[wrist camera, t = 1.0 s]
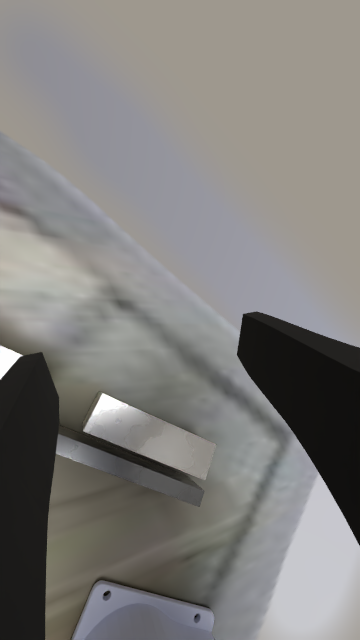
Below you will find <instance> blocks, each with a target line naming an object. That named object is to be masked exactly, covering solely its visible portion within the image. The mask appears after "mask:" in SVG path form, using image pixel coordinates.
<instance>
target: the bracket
mask: <svg viewBox="0 0 360 640" xmlns="http://www.w3.org/2000/svg"><path fill="white" fill-rule="evenodd" d="M20 356H23V355H21V354H18V353H16V352H14V351H12V350H9V349H7V348H5V347H3V346H1V345H0V379H1V378H2V377H3V376H4V374H5V373H6V372H7V371H8V370H9V369H10V367H11V366H12V365H13V364H14V363H15V362H16V360H17V359H18V358H19V357H20ZM56 454H58V455H61V456H64V457H66V458H69V459H72V460H74V461H77V462H80V463H82V464H85V465H88V466H91V467H93V468H96V469H99V470H101V471H104V472H107V473H109V474H112V475H115V476H117V477H120V478H123V479H125V480H128V481H131V482H134V483H136V484H139V485H142V486H144V487H147V488H150V489H152V490H155V491H158V492H160V493H163V494H166V495H168V496H171V497H174V498H176V499H179V500H182V501H185V502H187V503H190V504H193V505H195V506H198V507H200V504H201V500H202V497H203V494H204V490H203V489H202V488H200V487H199V486H198V485H197V484H196V483H195V482H194V481H192V480H191V479H190V478H189V477H188V476H185V475H183V474H180V473H178V472H175V471H173V470H170V469H168V468H166V467H163V466H161V465H158V464H156V463H153V462H151V461H148V460H146V459H143V458H141V457H138V456H136V455H133V454H131V453H128V452H126V451H123V450H121V449H118V448H116V447H113V446H111V445H108V444H106V443H103V442H101V441H98V440H96V439H93V438H91V437H88V436H86V435H83V434H81V433H78V432H76V431H73V430H71V429H68V428H66V427H63V426H61V425H59V431H58V439H57V447H56Z"/></svg>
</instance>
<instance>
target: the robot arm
mask: <svg viewBox="0 0 360 640" xmlns="http://www.w3.org/2000/svg"><path fill="white" fill-rule="evenodd" d="M237 356H238V358H239V359H240V361H241V363H242V365H243V366H244V368H245V370H246V371H247V373H248V375H249V376H250V377H251V379H252V380H253V381H254V383H255V384H256V385H257V386H258V388H259V389H260V390H261V392H262V393H263V394H264V395H265V397H266V398H267V399H268V400H269V402H270V403H271V404H272V405H273V407H274V408H275V409H276V410H277V412H278V413H279V414H280V415H281V417H282V418H283V419H284V420H285V422H286V423H287V424H288V426H289V427H290V428H291V430H292V431H293V433H294V434H295V436H296V437H297V439H298V440H299V442H300V443H301V445H302V446H303V448H304V449H305V451H306V452H307V454H308V456H309V457H310V459H311V460H312V462H313V464H314V465H315V467H316V469H317V470H318V472H319V474H320V475H321V477H322V478H323V480H324V482H325V483H326V485H327V487H328V489H329V490H330V492H331V494H332V496H333V497H334V499H335V501H336V503H337V504H338V506H339V508H340V510H341V512H342V513H343V515H344V517H345V519H346V521H347V522H348V524H349V526H350V528H351V530H352V532H353V534H354V536H355V538H356V540H357V542H358V543H359V545H360V348H359V347H355V346H352V345H349V344H346V343H343V342H340V341H337V340H334V339H331V338H328V337H325V336H323V335H320V334H317V333H314V332H312V331H309V330H307V329H304V328H301V327H299V326H296V325H293V324H291V323H288V322H286V321H283V320H280V319H278V318H275V317H272V316H269V315H267V314H263V313H260V312H252V313H247V314H243V318H242V325H241V331H240V338H239V345H238V351H237ZM58 431H59V396H58V394H57V391H56V388H55V386H54V383H53V380H52V378H51V375H50V372H49V370H48V367H47V364H46V361H45V359H44V356H43V353H42V352H40V353H35V354H30V355H25V356H20V357H19V358H18V359H17V360H16V362H15V363H14V364H13V365H12V366H11V367H10V369H9V370H8V371H7V372H6V373H5V374H4V376H3V377H2V378H1V379H0V640H45V595H46V553H47V525H48V512H49V501H50V493H51V486H52V478H53V470H54V463H55V455H56V447H57V439H58ZM106 591H110V593H109V594H108V595H107V596H103V594H104V593H105V592H106ZM196 614H198V615H197V617H196V618H194V616H195V615H196ZM214 619H215V618H214V614H213V613H212V611H211V609H209V608H206V607H202V606H198V605H194V604H191V603H187V602H183V601H179V600H175V599H172V598H168V597H164V596H160V595H157V594H153V593H149V592H145V591H141V590H138V589H134V588H130V587H126V586H123V585H119V584H115V583H111V582H107V581H104V580H100V581H98V582H96V583H95V584H94V586H93V588H92V590H91V592H90V595H89V597H88V600H87V602H86V605H85V607H84V610H83V612H82V614H81V617H80V619H79V622H78V624H77V627H76V629H75V631H74V634H73V636H72V639H71V640H215V639H214V637H213V635H212V634H211V632H212V628H213V624H214Z"/></svg>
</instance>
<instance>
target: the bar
mask: <svg viewBox="0 0 360 640" xmlns="http://www.w3.org/2000/svg"><path fill="white" fill-rule="evenodd" d="M83 431H84V432H87V433H89V434H92V435H94V436H96V437H99V438H101V439H104V440H106V441H109V442H111V443H114V444H116V445H119V446H121V447H124V448H126V449H129V450H131V451H134V452H136V453H139V454H141V455H144V456H146V457H149V458H151V459H153V460H156V461H158V462H161V463H163V464H166V465H168V466H171V467H173V468H176V469H178V470H181V471H183V472H186V473H188V474H191V475H193V476H196V477H198V478H201V479H203V480H206V477H207V473H208V470H209V467H210V464H211V461H212V458H213V455H214V451H215V448H216V445H217V444H214V443H212V442H210V441H208V440H206V439H203V438H201V437H199V436H197V435H195V434H192V433H190V432H188V431H186V430H184V429H181V428H179V427H177V426H175V425H172V424H170V423H168V422H166V421H164V420H161V419H159V418H157V417H155V416H152V415H150V414H148V413H146V412H143V411H141V410H139V409H137V408H135V407H132V406H130V405H128V404H126V403H123V402H121V401H119V400H117V399H114V398H112V397H110V396H108V395H106V394H103V393H101V392H98V394H97V396H96V398H95V400H94V402H93V403H92V405H91V407H90V409H89V411H88V413H87V415H86V417H85V419H84V421H83Z"/></svg>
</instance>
